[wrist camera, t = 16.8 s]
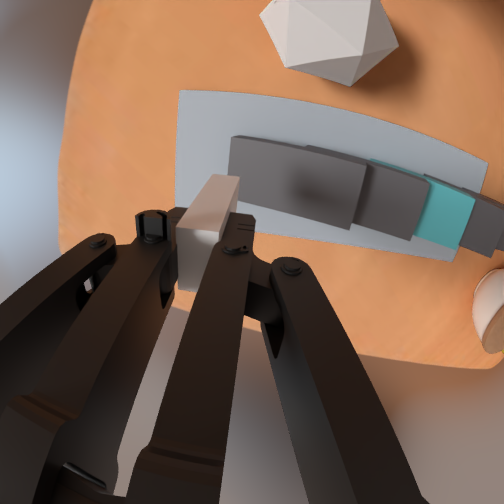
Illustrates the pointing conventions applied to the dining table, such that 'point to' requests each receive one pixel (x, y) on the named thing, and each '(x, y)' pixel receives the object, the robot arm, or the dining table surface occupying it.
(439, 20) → the dining table surface
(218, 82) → the dining table surface
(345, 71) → the die
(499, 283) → the lidded jar
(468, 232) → the domino
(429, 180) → the teal domino
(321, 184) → the domino
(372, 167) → the domino
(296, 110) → the mat
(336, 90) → the dining table surface
